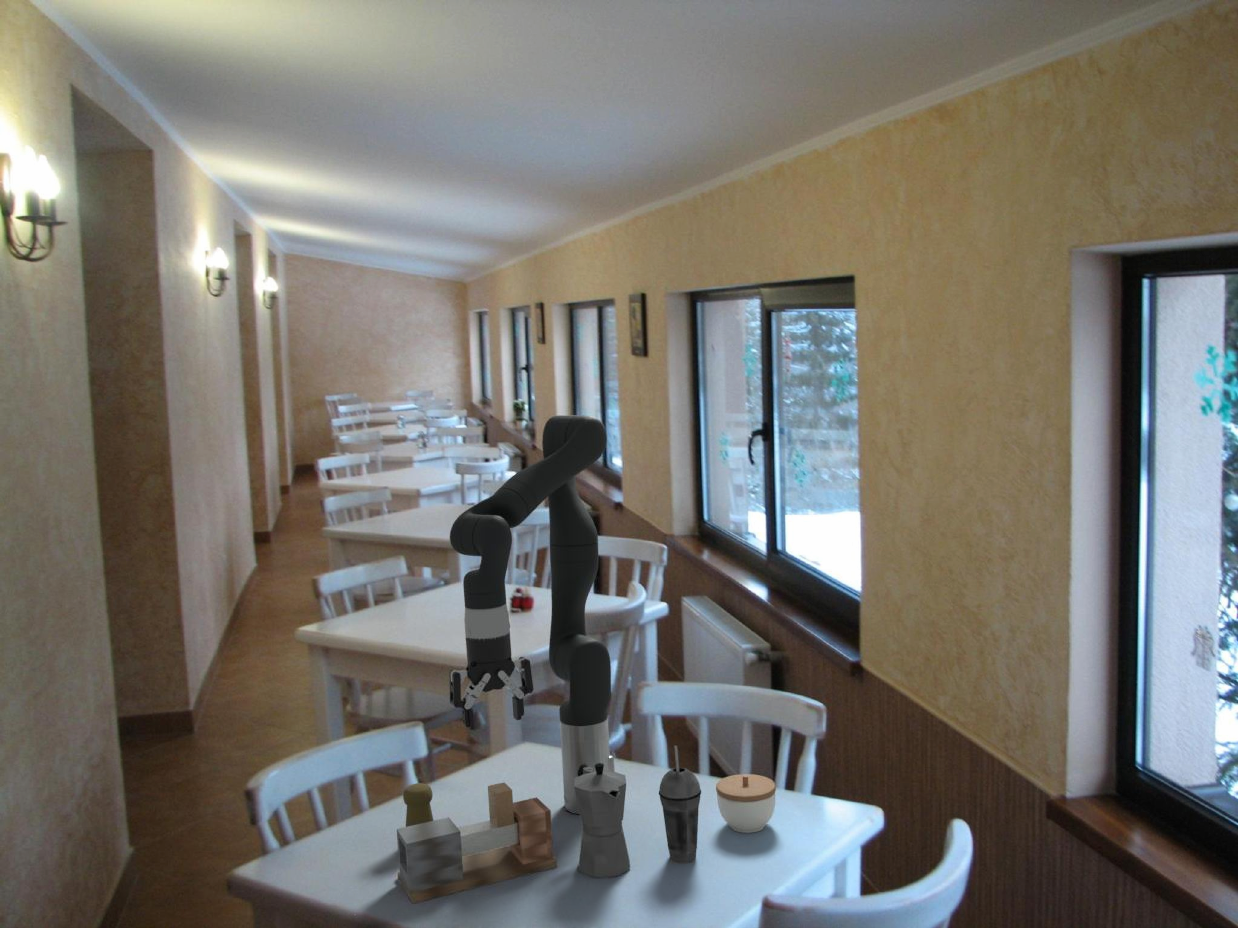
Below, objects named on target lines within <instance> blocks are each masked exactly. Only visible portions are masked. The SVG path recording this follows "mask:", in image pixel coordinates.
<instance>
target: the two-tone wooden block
mask: <svg viewBox="0 0 1238 928" xmlns="http://www.w3.org/2000/svg"><path fill="white" fill-rule="evenodd" d="M487 793H488V812H489V820H484V821H480V822H476V823H472V824H468V825H463V826H460V827H459V826H458V827H457V828H458V829H459V830H460V834H461V849H462V857H465V856H469V855H473V854H477V853H481V852H485V851H489V850H493V849H498V848H502V847H506V846H510V845H513V844H518V843H520V836H519V821H518V820H517V819H516V818H515V817H514V812H513V803H514V801H513V799H514V798H513V789H512V788H511V787H510V786H509V785H508V784H507V783H505V782H504V781H503V782H501V783H500V782H499V783H496V784H490V785H487Z"/></svg>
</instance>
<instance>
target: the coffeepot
mask: <svg viewBox="0 0 1238 928" xmlns="http://www.w3.org/2000/svg"><path fill="white" fill-rule="evenodd" d="M603 767H604V764H602V763H597V764H595V770H596V772H594V769H592V768H591V767H588V766H587V765H586V764H582V765H581V766H580V767H579V770H578V777H576V778H574V788H575V793H576V798H577V803H578V808H579V813H580V814H579V816H580V823H582V830H581V831H582V832H581V842H580V851H579V860H578V868H579V869H578V870H579V872H580V873H581V874H582V875H584V876H587V877H589V878H593V879H594V878H595V879H608V878H613V877H618V876H620V875H621V876H622V874H625V873H626V872H627V871H628V870H629V869H630V868H631V863H630V862H631V861H630V855H629V852H628V851H629V850H628V846H627V841H626V838H625V831H624V828H623V820H624V815H625V814H624V812H625V805H626V804H625V801H626V792H627V779H626V774H622V773H619V772H616V771H615V772H613V771H603Z"/></svg>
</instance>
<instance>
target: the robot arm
mask: <svg viewBox="0 0 1238 928" xmlns="http://www.w3.org/2000/svg"><path fill="white" fill-rule="evenodd" d="M545 422H546V423H545V425H544V427H543V431H542V439H541V440H542V443H541V445H542V446H541V447H542V455H543V456H542V457H543V459H541V460H540V461H537V462H535V463H533V464H531V465H528V466H527V467H525V468H522V469H521V470H519V471H518V472H516V473H515V474H514V475H512V476H511V477H510V478H508V479H507V480H506V481H505V482H504V483H503V484H502V486H500V487H499V488H498V489H497V490H496V491H495V492H494V493H493V494H492V495H490V496H488V497H487V498H486V499H483V500H482V501H479V502H478V503H476V504H474V505H473V506H471V507H469V508H468V509H466V510H464V511H463V512H462V513H461V514H459V515H458V517H456V519H455V520H454V522H453V524H452V526H451V528H450V531H449V542H450V545H451V547H452V549H453V550H454V551H455V552H457V553H458V554H460V555H463V556H470V557H471V556H472V557H480V564H479V568H478V569H473V570H471V571H470V570H469V571H468V572H467V573H465V575H464V577H463V584H462V585H463V596H464V597H463V598H464V618H463V619H464V634H465V646H466V650H465V651H466V659H467V661H466V662H467V666H466V668H465V669H461V670H455V669H451V670H450V671H449V672H448V673H449V675H448V676H449V680H448V681H449V703H450V704H451V705H452V706H453V707H454V708H459V709H461V716H462V718H461V719H462V724H463V725H464V727H466V729H468V731H473V730H475V721H474V720H475V719H474V709H473V707H472V706H473V705H474V703H475V701H476V699H478V698H479V696H480V695H481V693H482V692H484V693H489V692H491V691H493V690H503V688H504V687H505V688H507V689H508V690H509V691H510V693H512V695H513V696H511V698H512V701H511V702H512V714H513V715H512V716H513V719H515V720H516V721H520V720H521V721H522V717H523V716H524V715H525V707H524V706H525V703H524V697H525V696H526V695H528V694H532V693H533V692H534V683H533V682H534V681H533V675H532V674H533V673H532V668H531V661H530V660H529V659H528V658H526V657H524V656H520V657H519V658H518V659H517V660H513V658H512V643H511V631H510V630H511V629H510V628H511V622H510V615H509V611H508V605H507V592H506V591H507V590H506V583H505V581H506V576H507V572H508V566H509V559H510V554H511V550H512V545H513V544H512V543H513V535H512V530H511V529H513V528H516V527H518V526H520V525H521V524H522V523H523V522H524V521H525V520H526V519H528V518H529V516H530V515H531V514H532V513H533V512H534V511H535V510H536V509H537V508H538V507H539V505H541V504H542V503H543V502H544V501H545V500H546V499H547V502H548V518H549V560H550V578H551V579H550V581H551V583H550V585H551V586H550V587H551V590H550V592H551V594H550V597H551V599H550V600H551V621H550V631H549V642H548V643H549V644H548V645H549V647H548V660H549V662H548V663H549V666H550V668H551V671H552V672H553V674H554V675H555V676H556V677H557V678H559V679H560V680H562V681H565V682H567V683H569V699H567V700H566V701H564V702H562V703H561V704H560V706H559V712H558V713H559V729H560V745H561V747H560V749H561V764H562V779H563V780H562V781H563V783H562V784H563V799H564V800H563V801H564V802H563V803H564V809H565V810H566V811H568V812H570V813H573V814H576V815H580V813H579V808H578V803H577V798H576V793H575V788H574V778H576V777H578V770H579V767H580V766H581V765H582V764H586V765H587V766H588V767H591V768H592V769H594V772H596V770H595V764H597V763H602V764H604V767H603V771H613V772H616V771H615V769H616V768H615V758H614V756H612V755H611V753H610V736H609V735H610V734H609V717H608V709H609V708H610V705H611V701H612V700H611V699H612V665H611V664H612V663H611V657H610V653H609V650H608V648H607V646H606V645H605V644H604V643H603V642H602V641H600V640H598V639H596V638H592V637H589V636H587V631H586V614H585V613H586V605H587V604H586V603H587V599H588V597H589V594H590V591H591V589H592V587H593V585H594V582H595V580H596V577H597V573H598V571H599V570H598V569H599V560H600V559H599V535H598V531H597V528H596V525H595V523H594V521H593V519H592V517H591V515H590V512H589V511H588V510H587V508H586V506H585V504H584V502H583V501H582V499H581V497H580V494H579V493H578V490H577V486H576V481H575V477H576V476H577V475H579V474H580V473H582V471H584V470H586V469H588V468H589V467H590V466H592V465H593V464H594V463H595V462H597V461H598V460H599V459H600V458H601V457H602V455H603V454H604V452H605V450H606V447H607V442H608V441H607V438H608V437H607V436H608V434H607V430H606V427H605V425H604V423H603V422H602V421H601V420H600V418H597V417H595V416H593V415H592V416H591V415H583V414H582V415H581V414H580V415H579V414H573V415H571V414H568V415H563V414H562V415H560V414H559V415H554V416H551V417H550V418H549V419H548V420H547V421H545ZM515 669H516V671H518V672H519V673H520V675H519V676H520V684H521V686H519V687H518V685H517V684H516V683H515V682H514V681H513V680H512V679H511V678H510V677H512V674H513V672H514V671H515ZM466 677H467V678H468V680H469V684H468V685H467V687H466V689H465V693H464V695H463V696H462V695H461V693H462V692H461V691H462V689H461V688H462V686H461V684H463V683H465V682H464V681H465V679H466Z"/></svg>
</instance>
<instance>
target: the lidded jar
mask: <svg viewBox="0 0 1238 928" xmlns="http://www.w3.org/2000/svg"><path fill="white" fill-rule="evenodd" d="M776 786H777V785H776V782H774V780H773V779H771V778H769V777H766V776H763V775H759V774H752V773H751V774H749V773H742V774H741V773H740V774H734V775H729V776H725V777H723V778H721V779H720V780H718V781H717V783H716V786H715V792H716V798H717V800H716V801H717V805H718V809H719V813H720V815H721V817H722V819H723V820H724V822H725V823H727V824H728V826H730V828H731V829H732V830H733V831H734V832H737V833H742V834H753V833H758V832H760V831H762V830H764V828H765V826H766V825H768V823H769V822H770V820H771V819H772V817H773V814H774V812H775V806H776V791H777V789H776Z"/></svg>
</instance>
